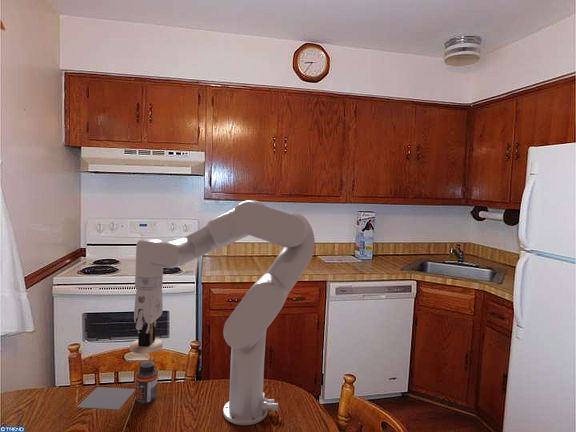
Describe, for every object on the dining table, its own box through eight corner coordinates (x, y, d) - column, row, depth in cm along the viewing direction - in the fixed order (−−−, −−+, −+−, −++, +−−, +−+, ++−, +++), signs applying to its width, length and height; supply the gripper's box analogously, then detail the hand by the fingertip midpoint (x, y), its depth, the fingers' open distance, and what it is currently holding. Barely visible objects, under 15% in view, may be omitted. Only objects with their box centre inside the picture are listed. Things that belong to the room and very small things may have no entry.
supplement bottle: (130, 403, 107) (131, 365, 107) (146, 393, 112) (147, 357, 112) (144, 409, 104) (145, 370, 104) (161, 399, 110) (162, 362, 109)
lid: (166, 341, 112) (167, 319, 112) (155, 354, 103) (156, 330, 103) (137, 340, 112) (138, 317, 112) (124, 352, 103) (124, 328, 103)
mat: (135, 392, 113) (136, 389, 113) (118, 413, 102) (118, 409, 102) (97, 390, 113) (97, 387, 113) (76, 410, 102) (76, 407, 102)
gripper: (150, 289, 98) (148, 356, 99) (171, 276, 115) (169, 333, 116) (123, 287, 99) (120, 354, 99) (147, 275, 115) (145, 332, 116)
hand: (146, 342), depth 108 cm, fingers closed on lid, 3 cm apart
